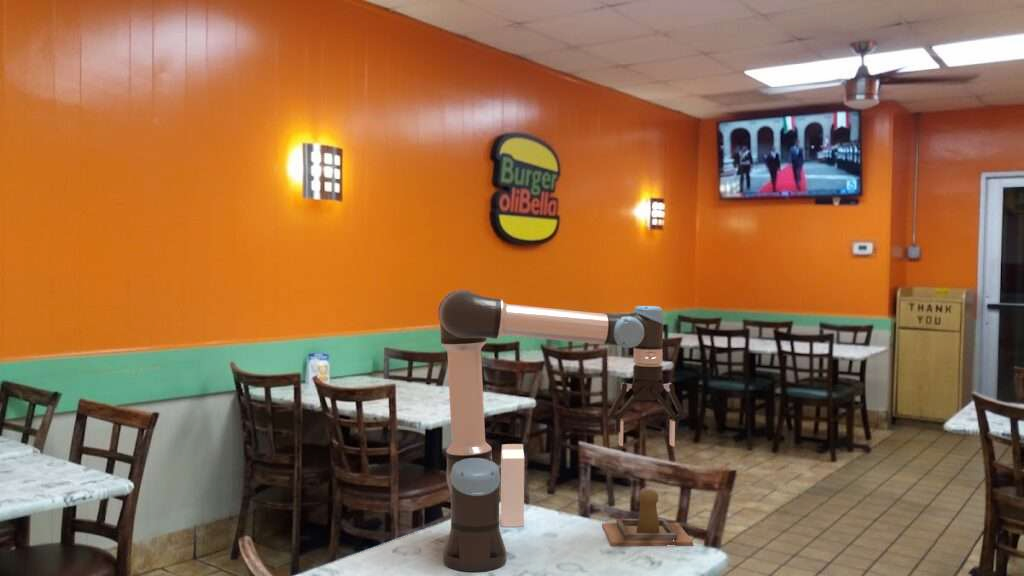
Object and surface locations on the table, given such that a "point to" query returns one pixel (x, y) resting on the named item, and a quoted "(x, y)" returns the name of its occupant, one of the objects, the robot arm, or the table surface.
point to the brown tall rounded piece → (648, 512)
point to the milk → (512, 485)
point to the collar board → (645, 534)
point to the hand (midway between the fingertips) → (646, 445)
